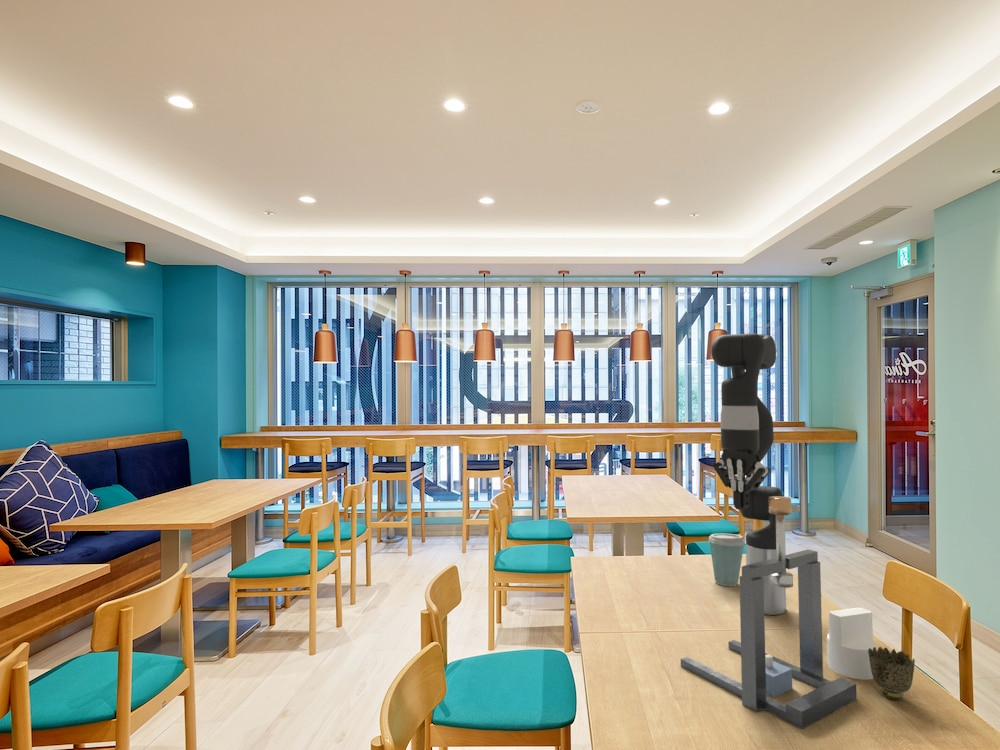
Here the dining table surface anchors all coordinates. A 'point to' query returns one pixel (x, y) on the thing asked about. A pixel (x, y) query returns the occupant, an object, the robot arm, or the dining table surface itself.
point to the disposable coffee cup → (726, 557)
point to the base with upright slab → (850, 642)
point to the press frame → (753, 658)
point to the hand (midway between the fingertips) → (741, 509)
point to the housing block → (777, 677)
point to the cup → (891, 671)
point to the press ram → (781, 538)
